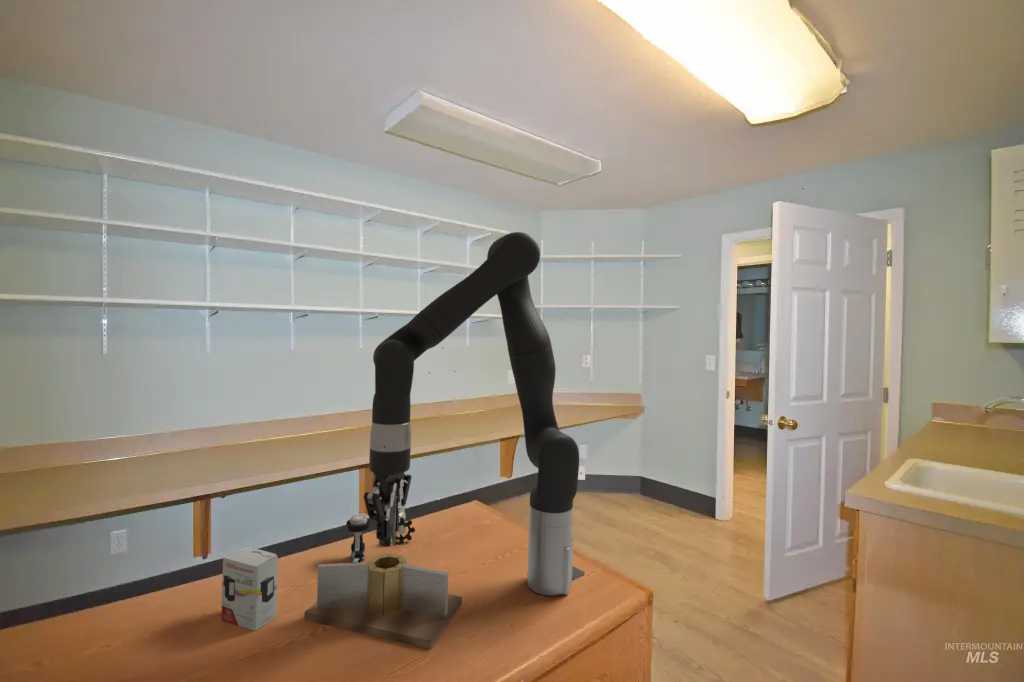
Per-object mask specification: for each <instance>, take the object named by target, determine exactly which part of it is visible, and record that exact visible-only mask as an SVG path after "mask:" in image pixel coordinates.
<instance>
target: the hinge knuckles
mask: <svg viewBox="0 0 1024 682" xmlns="http://www.w3.org/2000/svg"><path fill="white" fill-rule="evenodd" d="M316 590H317V593H316V594H317V595H316V599H317V600H316V602H317V609H332V608H350V607H367V608H368V611H369V612H370V613H373V614H378V615H388V614H391V613H395V612H398V611H400V609H404V610H408V611H413V612H418V613H422V614H427V615H432V616H436V617H441V618H446V616H447V606H448V594H449V572H447V571H443V570H442V571H441V570H437V569H430V568H425V567H420V566H416V565H415V566H414V565H410V564H408V562H407V560H406V558H405V557H404V556H403V555H400V554H396V553H385V554H379V555H375V556H374V557H373V558H372V559H370V560H369V561H366V562H365V561H363V562H362V561H361V563H352V562H344V563H341V562H340V563H339V562H338V563H322V564H321V563H319V564H318V566H317V589H316Z"/></svg>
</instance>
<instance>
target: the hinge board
mask: <svg viewBox="0 0 1024 682" xmlns="http://www.w3.org/2000/svg"><path fill="white" fill-rule="evenodd" d="M462 604H463V597H462V596H459V595H454V594H449V593H448V606H447V616H446V618H441V617H436V616H432V615H427V614H422V613H418V612H413V611H408V610H404V609H400V611H398V612H395V613H391V614H388V615H378V614H373V613H370V612H369V611H368V608H367V607H350V608H332V609H317V601H316V602H315V603H314V604H312V605H311V606H310V607H308V608H307V609H306V610H304V620H306V621H308V622H314V623H318V624H320V625H321V624H322V625H327V626H330V627H333V628H334V627H335V628H339V629H342V630H347V631H351V632H355V633H360V634H365V635H369V636H372V637H376V638H381V639H384V640H390V641H393V642H398V643H401V644H404V645H405V644H406V645H410V646H414V647H419V648H423V649H426V650H431V649H432V648H433V647H434V646H435V644H436V642H437V641H438V640H439V638H440V637H441V635H442V634H443V632H444V631H445V630H446V628H447V626H448V625H449V623H450V622H451V621H452V619H453V618H454V616H455V615H456V613H457V612H458V611H459V609H460V608H461V606H462Z"/></svg>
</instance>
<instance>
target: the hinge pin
mask: <svg viewBox="0 0 1024 682" xmlns="http://www.w3.org/2000/svg"><path fill="white" fill-rule="evenodd" d="M396 499H397V491H395V494H394V502H393V507H391V508H390V516H389V538H388V539H387V540H380V539H378V545H379V546H380V547H383V548H387V547H392V546H395V544H396V541H395V534H396V533H395V530H396ZM381 502H386V503H388V501H384V500H381ZM382 508H383V512H385V508H384V507H382Z"/></svg>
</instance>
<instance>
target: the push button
mask: <svg viewBox="0 0 1024 682" xmlns="http://www.w3.org/2000/svg"><path fill="white" fill-rule="evenodd" d="M371 520H372V519H369V517H367V515H365V514H354V515H352V516H351V517H350V519H348V520H347V521H346V526H347V531H348V532H350V533H352V534H353V540H352V543H351V544H350V551H351V553H350V560H352V561H351V563H361V562H362V561H363V560H365V558H366V551H365V548H366V542H364V537H363V536H364V535H363V533H364V532H366V531H367V530H369V528H370V524H371V522H372V521H371Z"/></svg>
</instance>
